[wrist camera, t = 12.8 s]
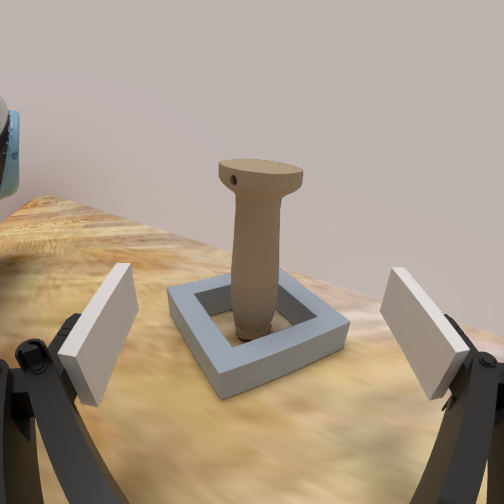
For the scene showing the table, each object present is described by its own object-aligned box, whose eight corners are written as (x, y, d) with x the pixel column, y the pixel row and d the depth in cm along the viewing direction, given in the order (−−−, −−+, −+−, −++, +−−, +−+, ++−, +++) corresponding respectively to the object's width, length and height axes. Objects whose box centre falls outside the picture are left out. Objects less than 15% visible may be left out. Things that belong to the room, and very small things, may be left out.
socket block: (170, 313, 30) (166, 287, 29) (271, 286, 36) (273, 262, 35) (220, 400, 21) (219, 373, 20) (343, 347, 26) (350, 321, 25)
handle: (248, 307, 32) (253, 157, 26) (295, 337, 28) (316, 170, 21) (210, 326, 29) (205, 162, 23) (257, 363, 25) (268, 176, 18)
